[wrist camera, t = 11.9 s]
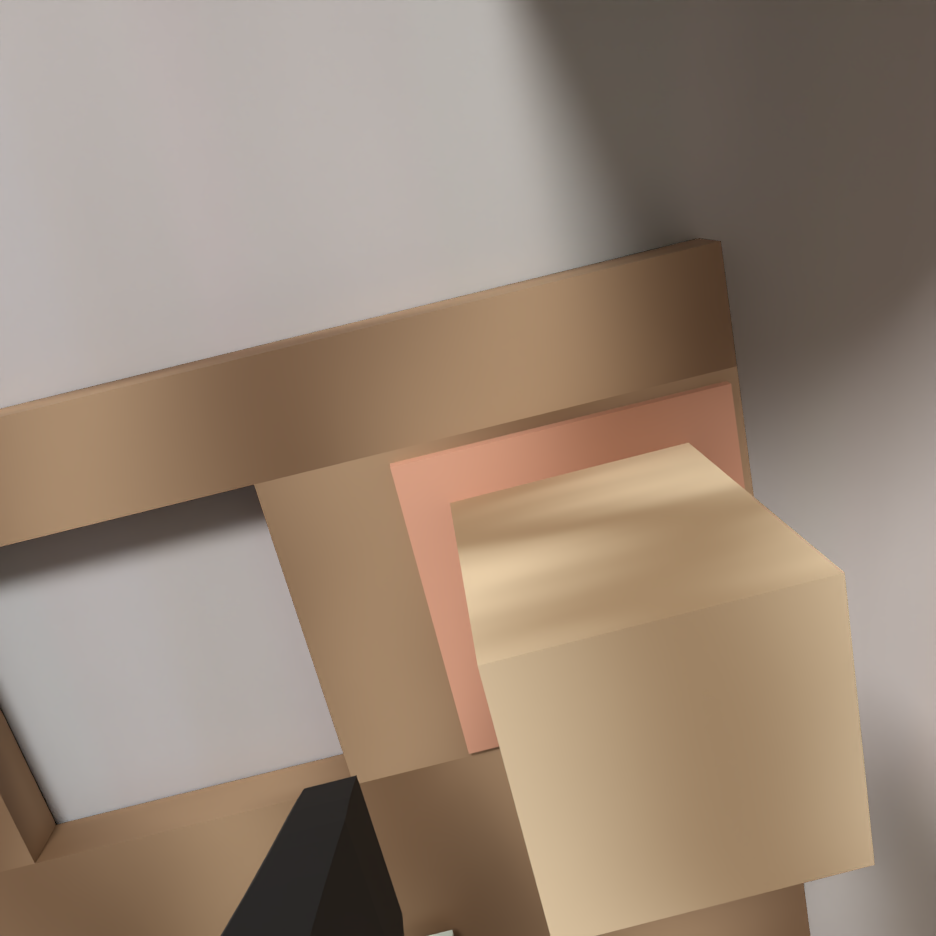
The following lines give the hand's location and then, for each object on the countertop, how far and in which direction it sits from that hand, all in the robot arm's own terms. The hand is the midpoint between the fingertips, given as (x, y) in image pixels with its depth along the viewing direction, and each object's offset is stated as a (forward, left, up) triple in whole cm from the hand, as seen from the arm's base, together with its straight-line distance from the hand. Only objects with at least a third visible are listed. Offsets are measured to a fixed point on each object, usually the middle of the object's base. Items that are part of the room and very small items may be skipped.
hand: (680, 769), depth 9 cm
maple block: (0, 0, -5) cm, 5 cm away
